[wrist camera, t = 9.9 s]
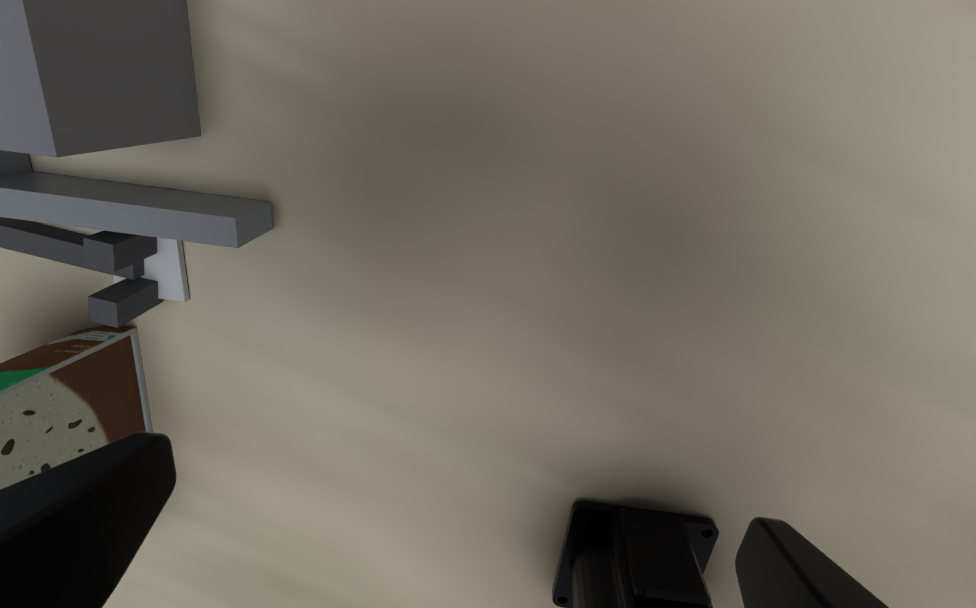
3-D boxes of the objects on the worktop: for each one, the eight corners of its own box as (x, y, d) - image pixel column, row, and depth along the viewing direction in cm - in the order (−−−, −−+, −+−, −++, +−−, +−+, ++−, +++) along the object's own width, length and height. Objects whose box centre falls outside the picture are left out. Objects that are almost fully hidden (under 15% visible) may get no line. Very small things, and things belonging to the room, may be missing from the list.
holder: (272, 228, 19) (238, 247, 17) (13, 194, 19) (-57, 209, 17) (251, -142, 15) (199, -184, 12) (-85, -180, 15) (-197, -229, 13)
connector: (201, 137, 18) (54, 160, 12) (64, 120, 18) (-144, 134, 12) (183, -32, 16) (-4, -98, 10) (28, -51, 16) (-239, -124, 10)
